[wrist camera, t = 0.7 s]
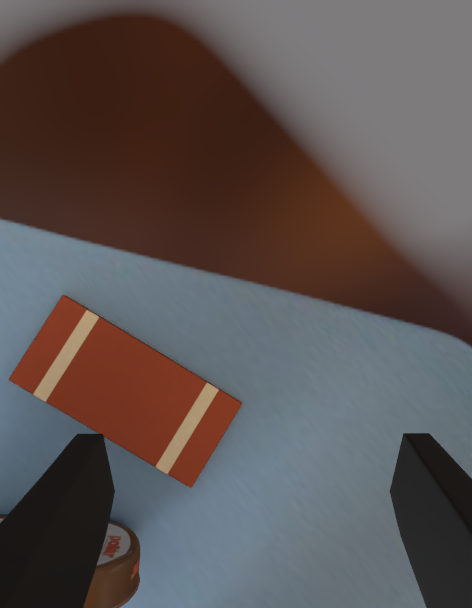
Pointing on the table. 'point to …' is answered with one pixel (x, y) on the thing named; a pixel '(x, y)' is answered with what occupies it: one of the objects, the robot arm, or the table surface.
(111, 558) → the tin
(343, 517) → the table surface
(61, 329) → the towel
